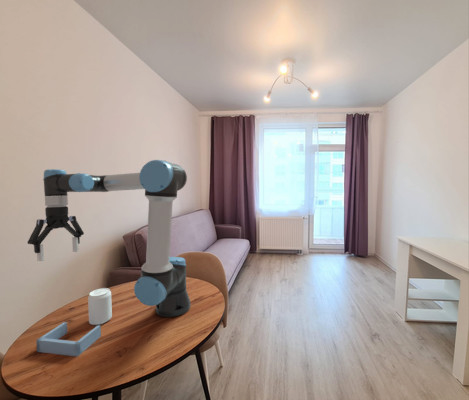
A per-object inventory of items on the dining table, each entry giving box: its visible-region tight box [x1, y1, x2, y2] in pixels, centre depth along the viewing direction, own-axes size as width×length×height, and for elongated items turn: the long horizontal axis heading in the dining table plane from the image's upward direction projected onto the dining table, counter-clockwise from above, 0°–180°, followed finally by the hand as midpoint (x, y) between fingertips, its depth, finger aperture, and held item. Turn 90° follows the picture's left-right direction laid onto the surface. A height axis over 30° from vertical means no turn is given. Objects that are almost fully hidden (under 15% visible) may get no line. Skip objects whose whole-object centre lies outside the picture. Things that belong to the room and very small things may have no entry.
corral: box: [35, 321, 102, 358], centre depth 76 cm, size 15×10×4 cm, turn 81°
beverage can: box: [87, 287, 113, 326], centre depth 90 cm, size 8×8×12 cm
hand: (59, 255), depth 93 cm, fingers open, 13 cm apart
